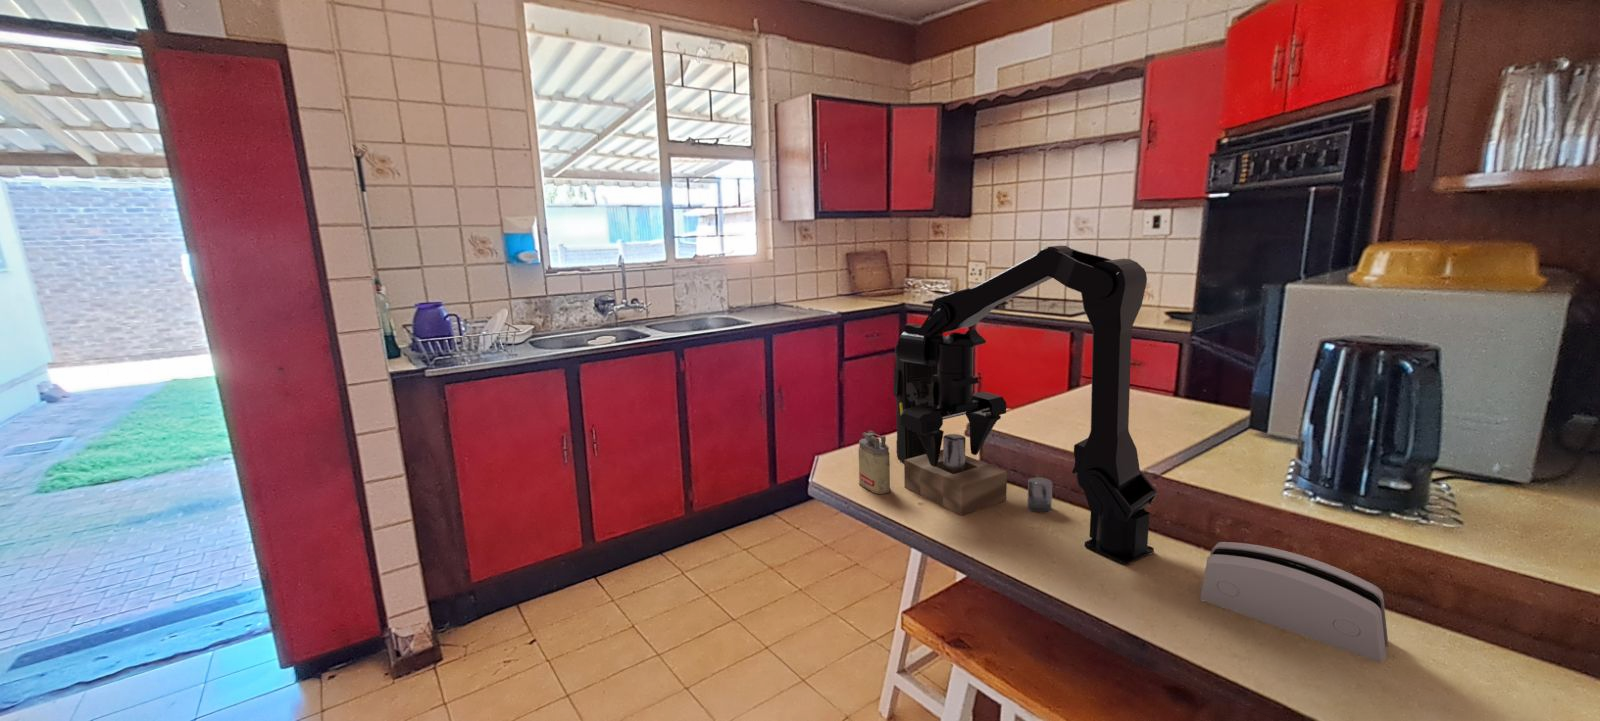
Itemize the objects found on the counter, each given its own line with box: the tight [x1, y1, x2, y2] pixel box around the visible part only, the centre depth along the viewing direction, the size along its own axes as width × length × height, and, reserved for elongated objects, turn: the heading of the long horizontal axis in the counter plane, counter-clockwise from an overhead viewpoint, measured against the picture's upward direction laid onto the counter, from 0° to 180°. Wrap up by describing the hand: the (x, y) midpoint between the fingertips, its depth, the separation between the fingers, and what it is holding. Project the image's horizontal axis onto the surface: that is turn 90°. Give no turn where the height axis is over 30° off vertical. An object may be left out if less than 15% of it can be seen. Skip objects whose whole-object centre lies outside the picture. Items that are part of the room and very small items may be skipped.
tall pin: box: [942, 433, 966, 474], centre depth 108 cm, size 4×4×10 cm
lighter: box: [858, 430, 891, 495], centre depth 112 cm, size 7×4×10 cm, turn 28°
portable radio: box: [893, 346, 938, 463], centre depth 122 cm, size 8×6×25 cm
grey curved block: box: [1199, 541, 1389, 664], centre depth 70 cm, size 17×5×10 cm, turn 43°
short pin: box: [1026, 476, 1053, 514], centre depth 102 cm, size 4×4×4 cm
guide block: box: [903, 449, 1008, 516], centre depth 108 cm, size 14×10×5 cm
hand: (954, 460), depth 108 cm, fingers open, 9 cm apart
